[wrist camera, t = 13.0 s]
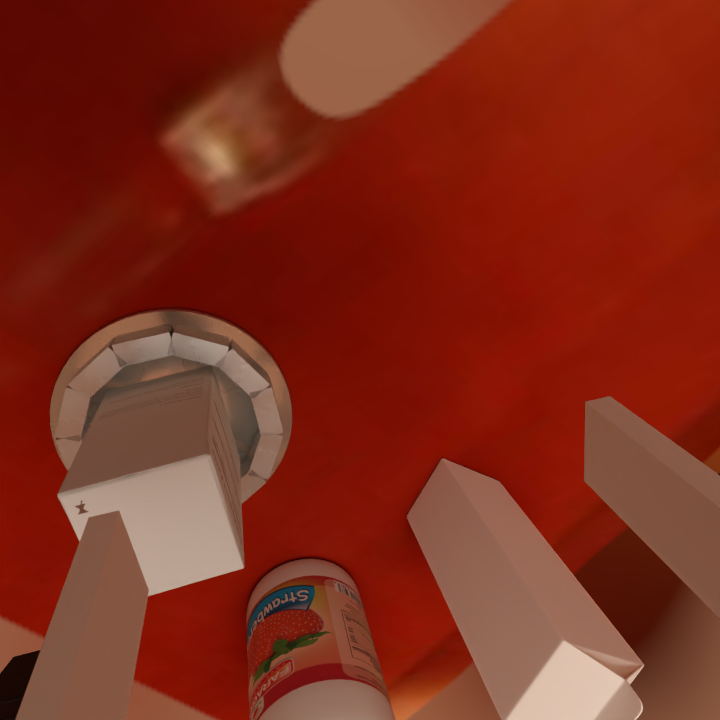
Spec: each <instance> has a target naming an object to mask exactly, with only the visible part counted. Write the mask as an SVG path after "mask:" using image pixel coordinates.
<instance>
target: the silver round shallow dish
mask: <svg viewBox="0 0 720 720" xmlns="http://www.w3.org/2000/svg"><path fill="white" fill-rule="evenodd" d="M209 365H211V366H212V368H213V371H214V374H215V377H216V380H217V383H218V387H219V390H220V393H221V396H222V399H223V403H224V406H225V409H226V412H227V416H228V419H229V422H230V425H231V429H232V432H233V435H234V438H235V441H236V444H237V448H238V450H239V454H240V476H241V504H242V503H243V502H244V501H246V500H247V499H248V498H249V497H250V496H251V495H252V494H254V493H255V492H256V491H257V490H258V489H259V488H260V487H262V486H263V485H264V484H265V483H266V482H267V480H268V479H269V478H270V477H271V475H272V474H273V473H274V472H275V470H276V468H277V467H278V465H279V463H280V462H281V460H282V458H283V456H284V453H285V451H286V449H287V446H288V442H289V438H290V435H291V426H292V407H291V401H290V395H289V391H288V388H287V385H286V381H285V378H284V376H283V374H282V372H281V370H280V368H279V366H278V364H277V363H276V361H275V360H274V358H273V357H272V356H271V354H270V353H269V352H268V351H267V350H266V348H265V347H264V346H263V345H262V344H261V343H260V342H259V341H258V340H257V339H255V338H254V337H253V336H252V335H251V334H250V333H248V332H246V331H245V330H243V329H242V328H240V327H239V326H237V325H235V324H233V323H231V322H229V321H227V320H225V319H223V318H221V317H218V316H215V315H212V314H209V313H205V312H200V311H196V310H190V309H179V308H164V309H153V310H147V311H141V312H138V313H134V314H131V315H127V316H125V317H122V318H120V319H118V320H115V321H113V322H111V323H109V324H107V325H106V326H104V327H102V328H101V329H99V330H97V331H96V332H95V333H94V334H92V335H91V336H90V337H89V338H87V339H86V340H85V341H84V342H83V343H82V344H81V345H80V346H79V347H78V349H77V350H76V351H75V352H74V353H73V354H72V356H71V357H70V359H69V360H68V362H67V363H66V364H65V366H64V367H63V369H62V371H61V373H60V375H59V377H58V379H57V381H56V384H55V387H54V391H53V394H52V399H51V406H50V426H51V432H52V437H53V441H54V444H55V447H56V450H57V453H58V455H59V456H60V458H61V460H62V462H63V464H64V466H65V467H66V469H67V470H68V471H69V469H70V467H71V465H72V463H73V461H74V458H75V456H76V454H77V452H78V450H79V448H80V446H81V444H82V442H83V439H84V437H85V435H86V433H87V431H88V429H89V427H90V425H91V423H92V421H93V419H94V416H95V414H96V412H97V410H98V408H99V406H100V404H101V402H102V400H103V398H104V395H105V393H106V391H107V390H112V389H116V388H120V387H124V386H128V385H132V384H136V383H140V382H144V381H148V380H152V379H156V378H160V377H164V376H168V375H172V374H176V373H180V372H184V371H188V370H192V369H196V368H201V367H205V366H209Z"/></svg>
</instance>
